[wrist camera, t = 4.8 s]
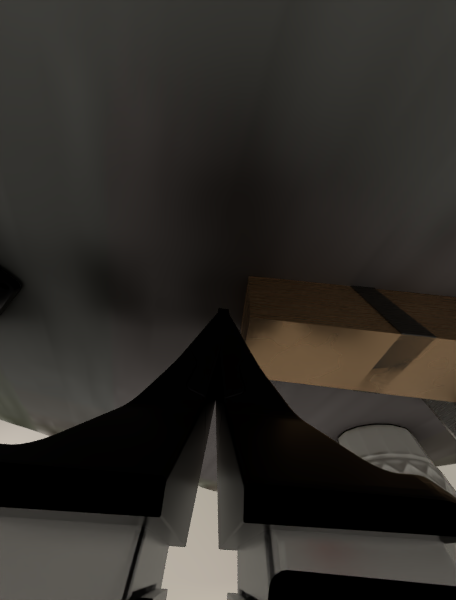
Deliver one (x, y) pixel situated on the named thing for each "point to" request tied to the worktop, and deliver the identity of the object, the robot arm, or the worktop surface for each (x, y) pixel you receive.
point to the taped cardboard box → (352, 337)
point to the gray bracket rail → (444, 413)
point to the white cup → (395, 455)
